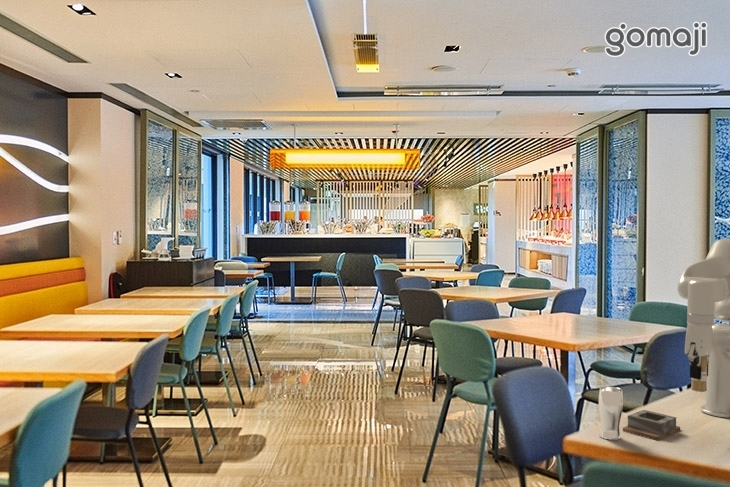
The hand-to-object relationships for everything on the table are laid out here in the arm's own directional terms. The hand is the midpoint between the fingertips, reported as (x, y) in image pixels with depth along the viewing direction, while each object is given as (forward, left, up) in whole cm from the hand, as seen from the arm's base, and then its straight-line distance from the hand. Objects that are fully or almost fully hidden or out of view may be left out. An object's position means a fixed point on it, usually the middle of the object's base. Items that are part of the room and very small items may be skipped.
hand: (699, 376), depth 196 cm
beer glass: (+24, -16, -19) cm, 35 cm away
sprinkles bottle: (0, 0, -5) cm, 5 cm away
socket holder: (+7, -11, -19) cm, 23 cm away
